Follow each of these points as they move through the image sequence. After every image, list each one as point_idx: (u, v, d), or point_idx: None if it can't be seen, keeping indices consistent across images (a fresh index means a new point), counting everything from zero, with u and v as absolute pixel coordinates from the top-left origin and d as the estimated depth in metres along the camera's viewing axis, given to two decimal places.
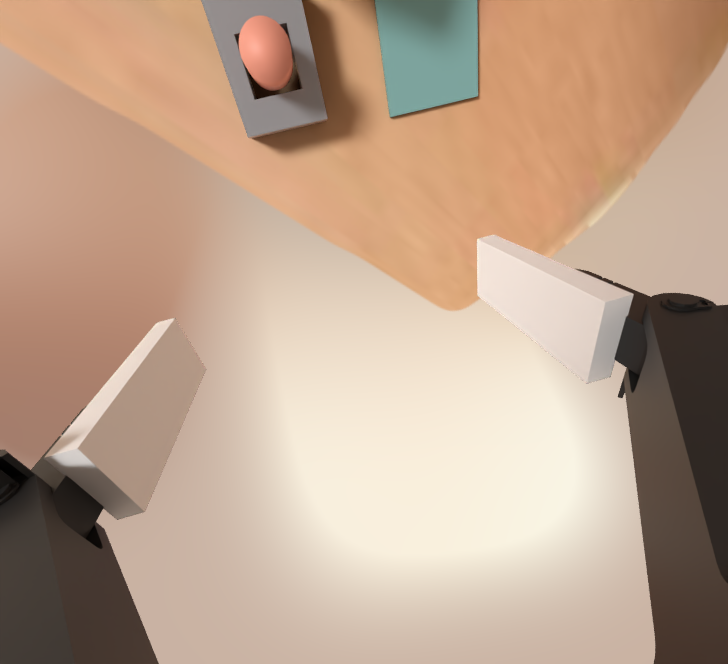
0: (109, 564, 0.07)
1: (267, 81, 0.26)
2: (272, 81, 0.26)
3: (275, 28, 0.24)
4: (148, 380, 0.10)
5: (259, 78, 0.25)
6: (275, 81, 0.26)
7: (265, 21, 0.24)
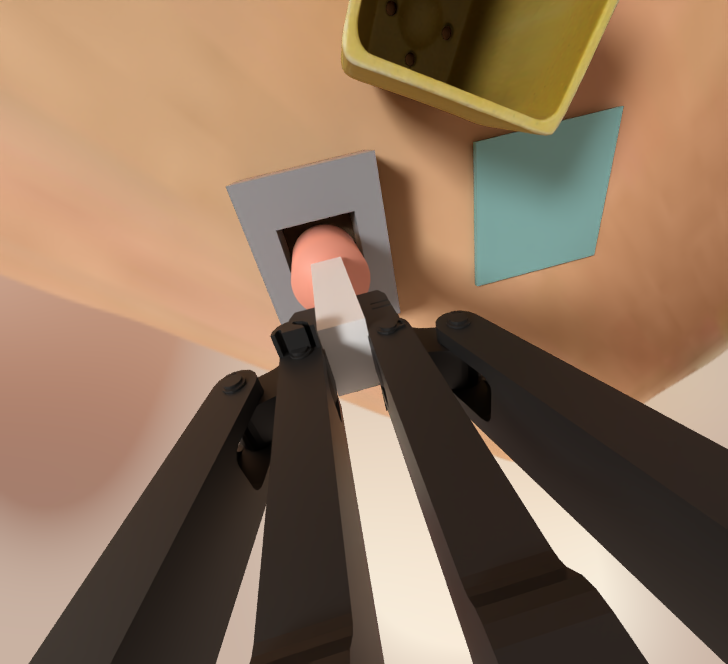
0: (344, 437, 0.08)
1: None
2: None
3: (349, 254, 0.15)
4: None
5: None
6: None
7: (334, 247, 0.15)
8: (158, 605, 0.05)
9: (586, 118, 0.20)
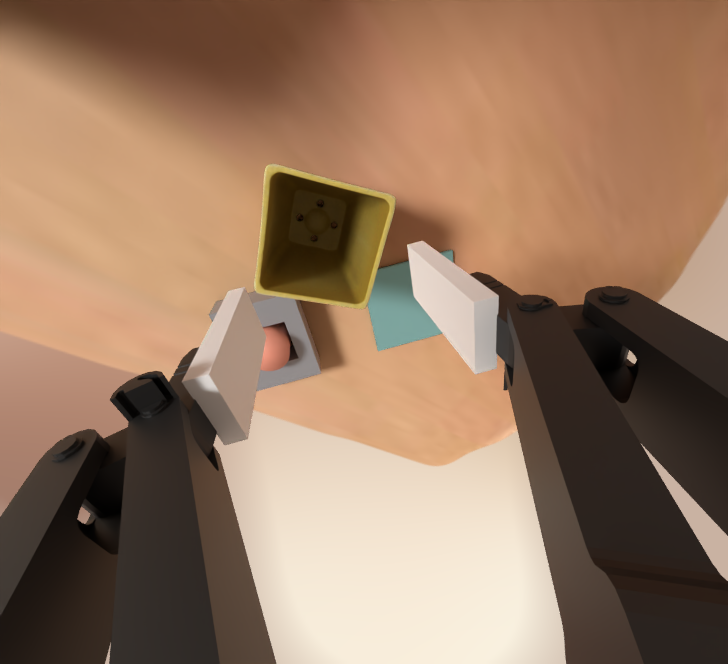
0: (223, 485, 0.08)
1: (269, 370, 0.32)
2: (273, 370, 0.32)
3: (276, 342, 0.30)
4: (237, 334, 0.11)
5: (263, 369, 0.31)
6: (276, 369, 0.32)
7: (268, 339, 0.30)
8: None
9: None
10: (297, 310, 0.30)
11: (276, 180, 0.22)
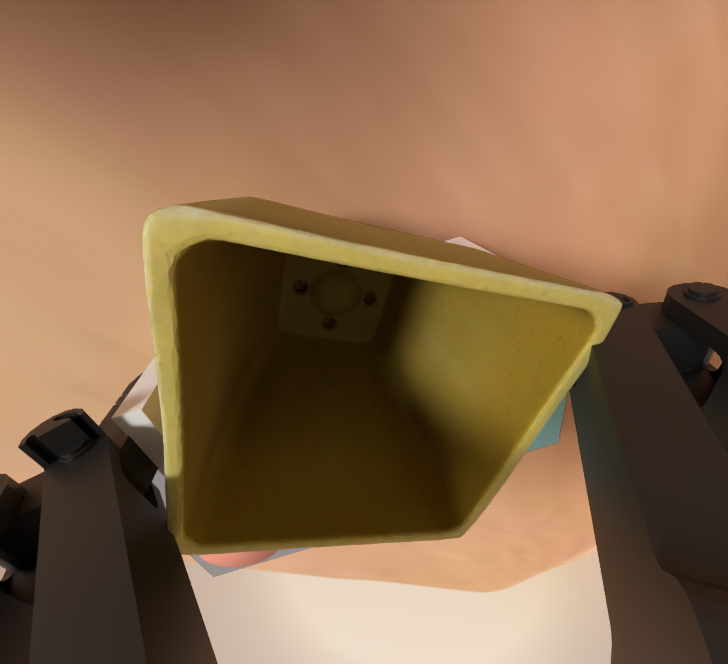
0: (163, 523, 0.07)
1: (244, 564, 0.17)
2: (251, 563, 0.17)
3: None
4: None
5: (231, 565, 0.16)
6: None
7: None
8: None
9: None
10: None
11: None
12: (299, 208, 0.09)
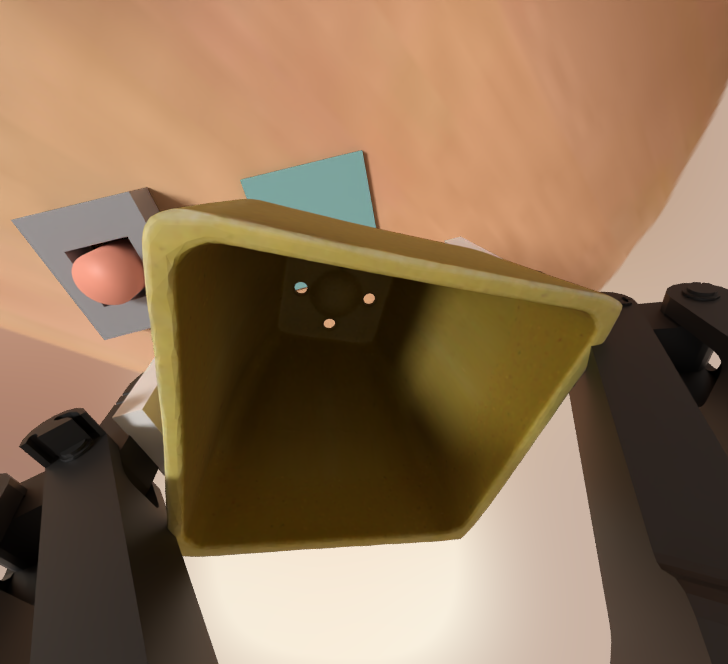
0: (164, 522, 0.07)
1: (113, 304, 0.24)
2: (119, 303, 0.24)
3: (111, 261, 0.22)
4: None
5: (103, 302, 0.23)
6: (123, 302, 0.24)
7: (98, 257, 0.22)
8: None
9: (332, 160, 0.25)
10: (142, 219, 0.23)
11: None
12: (299, 210, 0.09)
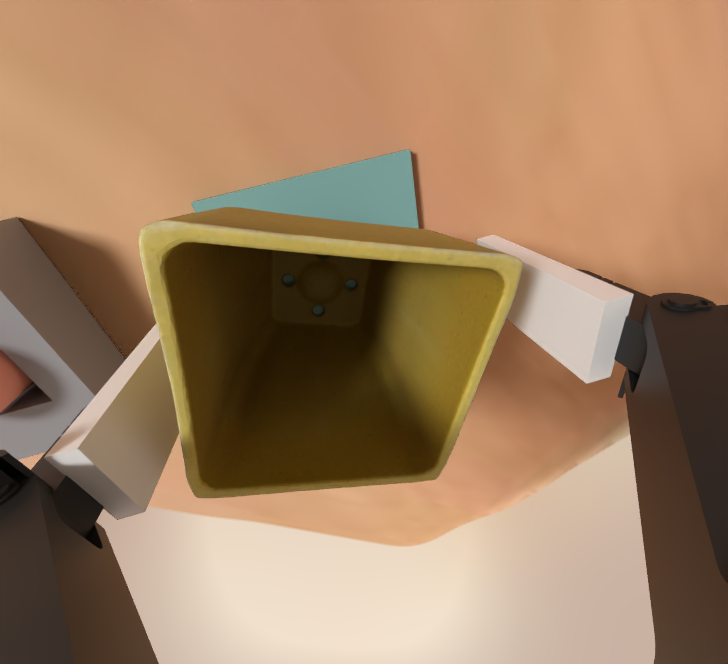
0: (109, 564, 0.07)
1: None
2: None
3: None
4: (148, 381, 0.10)
5: None
6: None
7: None
8: None
9: (356, 167, 0.14)
10: None
11: None
12: None
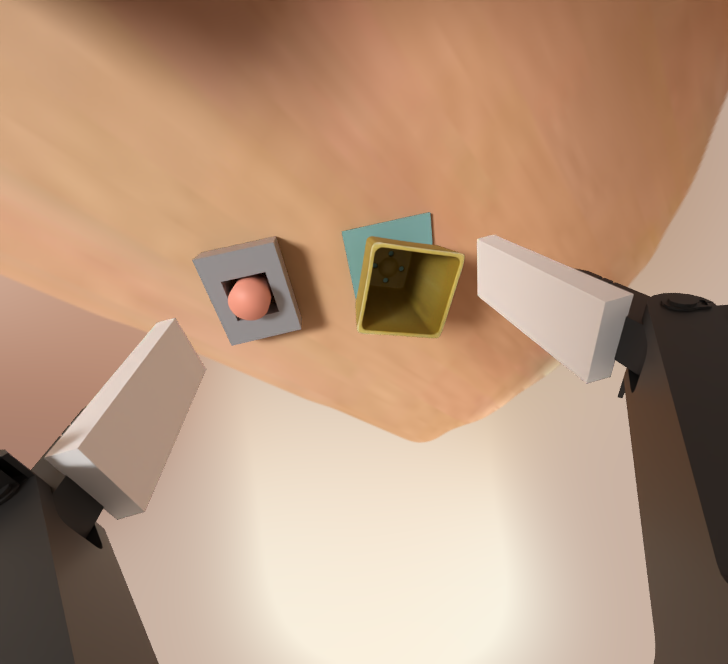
0: (109, 564, 0.07)
1: (250, 319, 0.33)
2: (254, 319, 0.33)
3: (256, 290, 0.31)
4: (148, 381, 0.10)
5: (243, 318, 0.32)
6: (256, 319, 0.33)
7: (248, 286, 0.31)
8: None
9: (408, 219, 0.34)
10: (278, 261, 0.32)
11: None
12: (384, 238, 0.30)
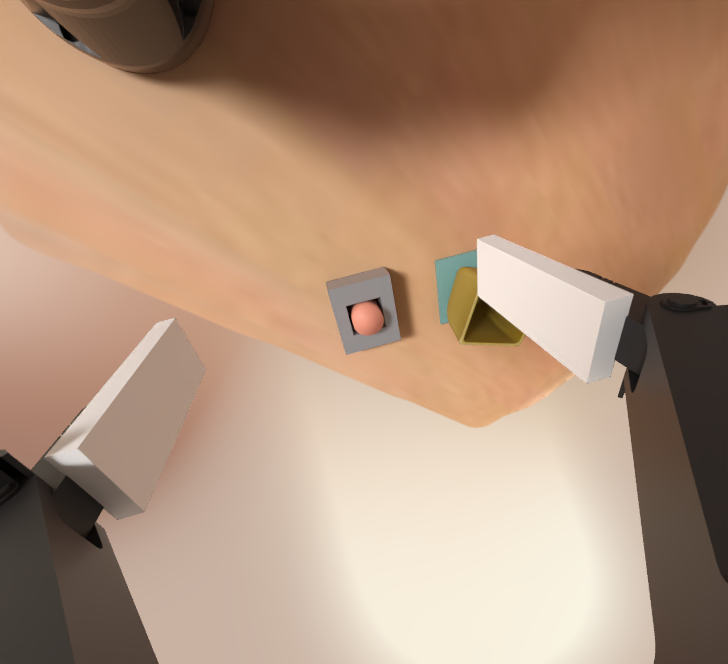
0: (109, 564, 0.07)
1: (367, 335, 0.41)
2: (370, 334, 0.41)
3: (376, 312, 0.39)
4: (148, 380, 0.10)
5: (362, 334, 0.41)
6: (372, 334, 0.41)
7: (370, 310, 0.39)
8: None
9: None
10: (391, 288, 0.40)
11: None
12: None
